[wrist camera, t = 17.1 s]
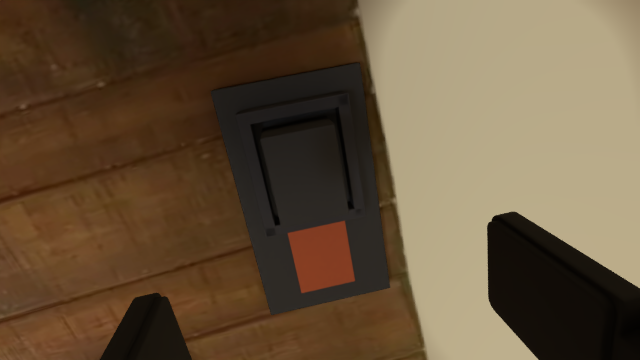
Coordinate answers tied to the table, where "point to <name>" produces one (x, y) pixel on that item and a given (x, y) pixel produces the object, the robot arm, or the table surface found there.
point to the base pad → (319, 236)
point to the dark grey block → (305, 171)
